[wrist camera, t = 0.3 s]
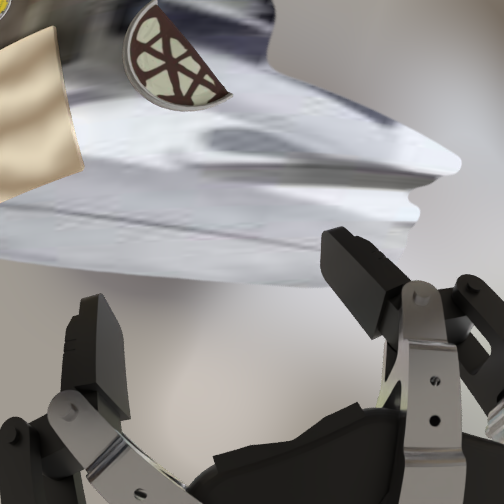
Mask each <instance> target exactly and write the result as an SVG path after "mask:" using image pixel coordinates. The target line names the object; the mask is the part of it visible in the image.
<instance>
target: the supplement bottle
mask: <svg viewBox="0 0 504 504" xmlns="http://www.w3.org/2000/svg"><path fill="white" fill-rule="evenodd" d="M10 4H11V0H0V19H1V18H2V17H3V16H4V15H5V14H6V12H7V10H8V9H9V6H10Z"/></svg>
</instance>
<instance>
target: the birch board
mask: <svg viewBox="0 0 504 504" xmlns="http://www.w3.org/2000/svg"><path fill="white" fill-rule="evenodd" d="M83 169H84V163H83V160H82V156H81V153H80V149H79V145H78V141H77V138H76V134H75V130H74V126H73V121H72V117H71V113H70V108H69V104H68V99H67V94H66V89H65V84H64V78H63V73H62V67H61V60H60V54H59V47H58V39H57V30H56V27H55V26H50V27H48V28H46V29H43V30H41V31H38V32H36V33H34V34H32V35H30V36H27V37H25V38H23V39H21V40H19V41H17V42H15V43H13V44H11V45H9V46H7V47H5V48H3V49H1V50H0V203H2V202H4V201H6V200H8V199H11V198H13V197H15V196H18V195H20V194H22V193H25V192H27V191H30V190H32V189H35V188H37V187H40V186H42V185H45V184H48V183H50V182H53V181H55V180H58V179H61V178H64V177H66V176H69V175H72V174H75V173H78V172H81V171H83Z"/></svg>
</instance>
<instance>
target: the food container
mask: <svg viewBox="0 0 504 504" xmlns="http://www.w3.org/2000/svg"><path fill="white" fill-rule="evenodd" d="M122 57H123V65H124V69H125V72H126V75H127V77H128V79H129V81H130V83H131V84H132V85H133V87H134V88H135V89H136V91H138V92H139V93H140V94H141V95H142V96H143V97H144V98H145V99H147V100H148V101H150V102H151V103H153V104H155V105H158V106H160V107H162V108H166V109H169V110H174V111H198V110H204V109H207V108H211V107H214V106H216V105H218V104H221V103H223V102H225V101H227V100H228V99H230V98H232V97H233V94H232V93H230V92H227V90H226V89H225V87H224V86H223V85H222V84H221V83H220V82H219V80H218V79H217V78H216V76H215V75H214V74H213V72H212V71H211V70H210V68H209V67H208V66H207V65H206V63H205V62H204V61H203V59H202V58H201V57H200V55H199V54H198V53H197V51H196V50H195V49H194V48H193V46H192V45H191V44H190V43H189V42H188V40H187V39H186V38H185V37H184V36H183V35H182V33H181V32H180V31H179V30H178V29H177V27H176V26H175V25H174V24H173V23H172V22H171V20H170V19H169V18H168V17H167V16H166V15H165V13H164V12H163V11H162V10H161V9H160V8H159V7H158V6H157V0H152V1H151V2H149V3H148V4H147V5H146V6H144V7H143V8H142V9H141V10H140V11H139V13H138V14H137V15H136V16H135V17H134V19H133V20H132V22H131V23H130V25H129V27H128V30H127V32H126V34H125V38H124V42H123V50H122Z"/></svg>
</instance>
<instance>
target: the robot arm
mask: <svg viewBox="0 0 504 504" xmlns="http://www.w3.org/2000/svg"><path fill="white" fill-rule="evenodd" d="M320 268H321V272H322V275H323V277H324V279H325V280H326V282H327V283H328V284H329V286H330V287H331V288H332V289H333V291H334V292H335V293H336V294H337V296H338V297H339V298H340V299H341V301H342V302H343V303H344V304H345V306H346V307H347V308H348V310H349V311H350V312H351V314H352V315H353V316H354V317H355V319H356V320H357V321H358V322H359V324H360V325H361V327H362V328H363V329H364V330H365V332H366V333H367V334H368V336H369V337H370V338H371V340H373V339H375V338H377V337H379V336H381V335H383V336H384V338H385V339H386V340H385V343H384V355H383V370H382V380H381V389H380V393H379V396H378V400H377V404H376V408H366V409H361V407H360V405H359V404H358V402H356V403H354V404H352V405H350V406H348V407H346V408H344V409H341V410H339V411H337V412H335V413H333V414H331V415H328V416H326V417H324V418H323V419H322V420H321V421H319V422H318V423H316V424H315V425H314V426H312V427H311V428H310V429H308V430H307V431H306V432H304V433H303V434H301V435H300V436H299V437H297V438H296V439H294V440H292V441H286V442H278V443H269V444H260V445H250V446H247V447H244V448H240V449H237V450H233V451H230V452H226V453H223V454H219V455H215V456H213V459H214V462H215V464H214V465H212V466H211V467H209V468H208V469H206V470H205V471H203V472H202V473H201V474H200V475H199V476H198V477H196V478H195V480H194V481H193V482H192V483H191V484H190V486H187V485H186V484H185V483H183V482H182V481H181V480H179V479H178V478H177V477H175V476H174V475H172V474H171V473H170V472H168V471H167V470H166V469H164V468H163V467H162V466H160V465H159V464H158V463H157V462H155V461H154V460H153V459H152V458H151V457H150V456H148V455H147V454H146V453H145V452H144V451H143V450H141V449H140V448H139V447H138V446H137V445H136V444H135V443H134V442H133V441H131V440H130V439H129V438H128V437H127V436H126V435H125V434H124V433H123V432H122V429H121V421H123V420H129V419H131V416H130V409H129V401H128V392H127V381H126V370H125V357H124V341H123V340H124V339H123V334H122V330H121V327H120V325H119V323H118V321H117V319H116V317H115V316H114V314H113V312H112V310H111V308H110V307H109V305H108V303H107V301H106V299H105V297H104V296H103V294H101V293H100V294H96V295H93V296H90V297H86V298H82V299H81V302H80V309H79V315H76V316H73V317H72V319H71V321H70V323H69V324H68V326H67V328H66V335H65V344H64V354H63V363H62V375H61V391H60V393H58V394H57V395H56V396H55V397H54V398H53V399H52V401H51V402H50V404H49V407H48V412H47V414H45V415H44V416H42V417H40V418H38V419H36V420H34V421H32V422H30V423H27V422H26V421H24V420H23V419H22V418H19V417H12V418H9V419H8V420H6V421H5V422H4V423H3V425H2V427H1V429H0V495H1V504H86V500H85V495H84V490H83V484H82V479H81V473H80V471H81V470H83V469H85V470H86V471H87V473H88V474H87V475H86V478H87V479H88V481H89V482H90V484H91V485H92V486H93V487H94V488H95V489H96V491H97V492H98V493H99V494H100V495H101V496H102V497H103V498H104V499H105V500H106V501H107V502H108V503H109V504H504V301H503V300H502V299H501V298H500V297H499V296H498V295H497V294H496V293H495V292H494V291H493V290H492V289H491V288H490V287H489V286H488V285H487V284H486V283H485V282H484V281H483V280H481V279H480V278H478V277H476V276H474V275H470V274H465V275H461V276H460V277H459V278H458V279H457V282H456V284H455V286H454V287H453V288H446V289H439V290H437V289H436V288H435V287H434V286H433V285H431V284H430V283H427V282H424V281H419V280H417V281H416V280H415V281H411V280H410V279H409V278H408V277H407V276H406V275H405V274H404V273H403V272H402V271H401V270H400V269H399V268H398V267H397V266H396V265H395V264H394V263H392V262H391V261H390V260H389V259H388V258H386V256H385V255H384V254H383V253H382V252H381V251H379V249H377V248H376V247H375V246H374V245H373V244H372V243H371V242H370V241H368V240H366V239H363V238H361V237H359V236H353V235H352V234H351V233H350V232H349V231H348V230H347V229H346V228H345V227H342V226H341V227H337V228H334V229H330V230H326V231H324V232H323V233H322V237H321V259H320ZM474 325H475V326H476V328H477V329H478V330H479V331H480V332H481V334H482V335H483V336H484V337H485V338H486V340H487V341H488V342H489V344H490V346H491V355H490V356H489V354H488V353H487V352H486V351H485V349H484V348H483V347H482V346H481V344H480V343H479V342H478V341H477V339H476V338H475V337H474V336H473V334H472V333H471V332H470V331H471V329H472V328H473V326H474ZM460 378H461V379H462V380H463V382H464V383H465V385H466V386H467V387H468V389H469V390H470V392H471V393H472V395H473V396H474V397H475V399H476V400H477V402H478V403H479V405H480V406H481V408H482V409H483V411H484V412H485V414H486V415H487V417H488V425H487V427H486V429H485V433H486V436H487V437H488V438H492V440H488V439H484V438H480V437H477V436H474V435H470V434H467V433H464V432H462V410H461V409H462V408H461V386H460Z"/></svg>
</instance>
